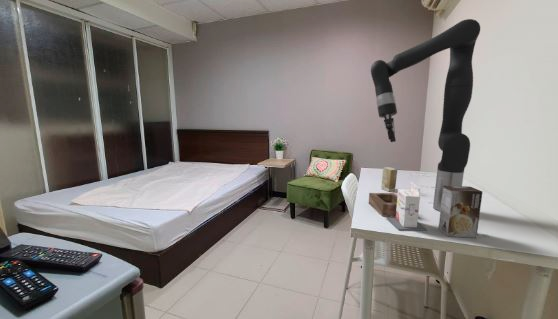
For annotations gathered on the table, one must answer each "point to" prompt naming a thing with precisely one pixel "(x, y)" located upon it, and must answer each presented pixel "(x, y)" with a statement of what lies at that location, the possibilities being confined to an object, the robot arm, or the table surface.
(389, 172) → the skincare box
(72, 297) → the table surface
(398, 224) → the grey mat
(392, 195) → the walnut holder
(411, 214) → the ink cartridge box
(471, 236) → the coffee box
